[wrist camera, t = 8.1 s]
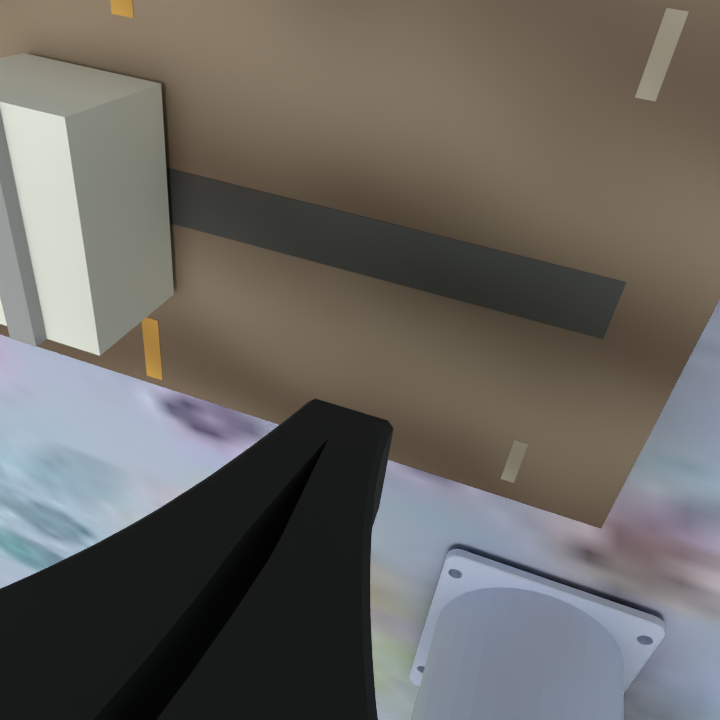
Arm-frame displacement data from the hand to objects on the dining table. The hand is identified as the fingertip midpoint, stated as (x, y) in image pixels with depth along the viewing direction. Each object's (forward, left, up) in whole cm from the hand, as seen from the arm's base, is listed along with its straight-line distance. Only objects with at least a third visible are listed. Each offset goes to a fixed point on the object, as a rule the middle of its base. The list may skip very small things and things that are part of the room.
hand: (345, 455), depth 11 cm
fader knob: (0, +10, -7) cm, 12 cm away
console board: (0, +5, -9) cm, 11 cm away
